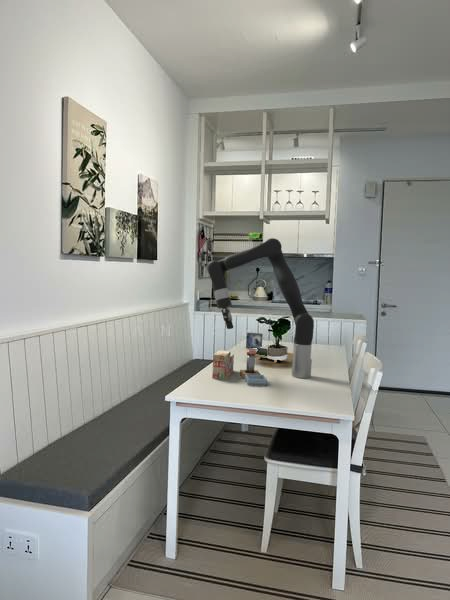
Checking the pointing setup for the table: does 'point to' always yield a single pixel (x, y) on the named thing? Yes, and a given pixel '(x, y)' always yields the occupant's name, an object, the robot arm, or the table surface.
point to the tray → (256, 380)
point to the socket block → (243, 372)
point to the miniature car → (262, 350)
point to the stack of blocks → (222, 364)
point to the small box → (254, 340)
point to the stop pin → (250, 361)
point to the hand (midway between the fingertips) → (230, 328)
